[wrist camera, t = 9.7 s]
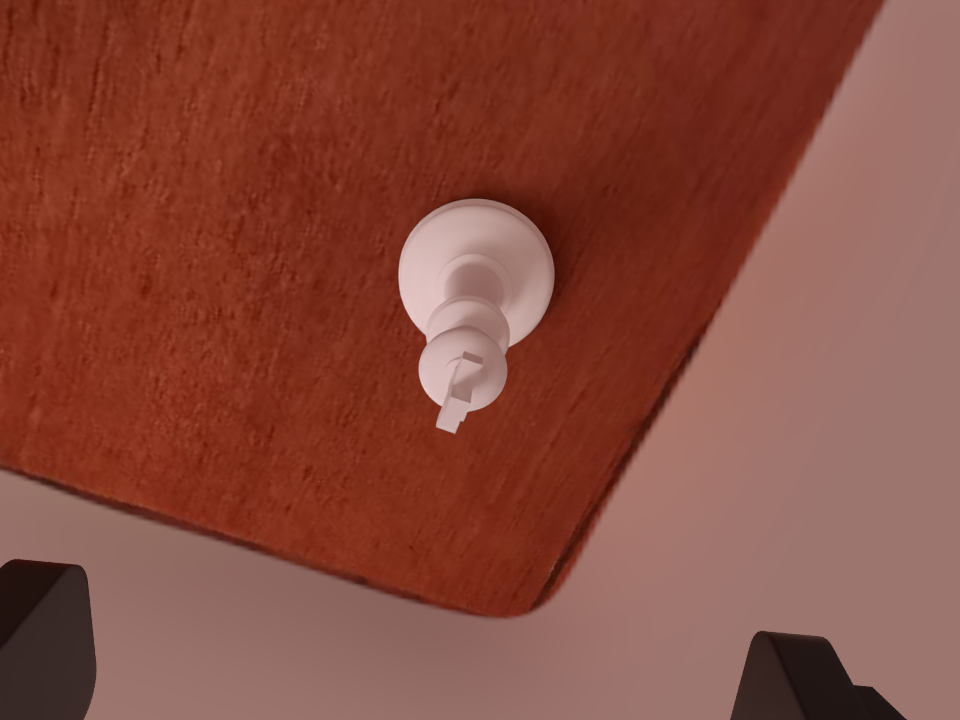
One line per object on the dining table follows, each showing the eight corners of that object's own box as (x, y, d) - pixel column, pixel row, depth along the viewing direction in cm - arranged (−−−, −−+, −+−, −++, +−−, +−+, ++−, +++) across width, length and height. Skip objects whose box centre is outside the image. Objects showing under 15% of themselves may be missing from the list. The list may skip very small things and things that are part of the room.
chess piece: (578, 231, 25) (618, 344, 16) (520, 369, 27) (525, 543, 18) (428, 175, 25) (378, 256, 15) (378, 318, 27) (307, 470, 17)
